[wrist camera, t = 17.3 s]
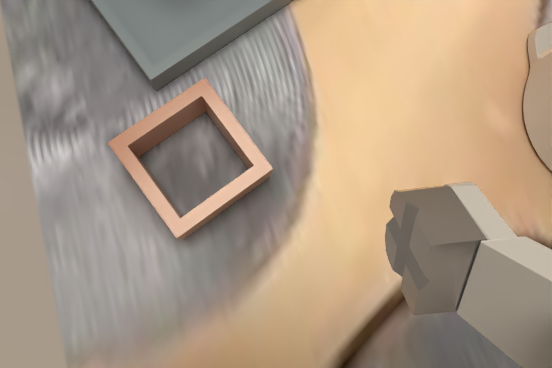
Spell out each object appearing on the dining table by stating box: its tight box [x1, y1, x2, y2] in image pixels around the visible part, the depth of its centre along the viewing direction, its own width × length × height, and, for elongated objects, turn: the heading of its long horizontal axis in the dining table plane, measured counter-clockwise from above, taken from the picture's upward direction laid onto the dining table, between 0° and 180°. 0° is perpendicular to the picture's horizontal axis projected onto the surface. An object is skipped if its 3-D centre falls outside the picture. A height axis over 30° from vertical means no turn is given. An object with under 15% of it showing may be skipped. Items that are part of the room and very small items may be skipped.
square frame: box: [108, 78, 273, 240], centre depth 36 cm, size 8×8×4 cm
